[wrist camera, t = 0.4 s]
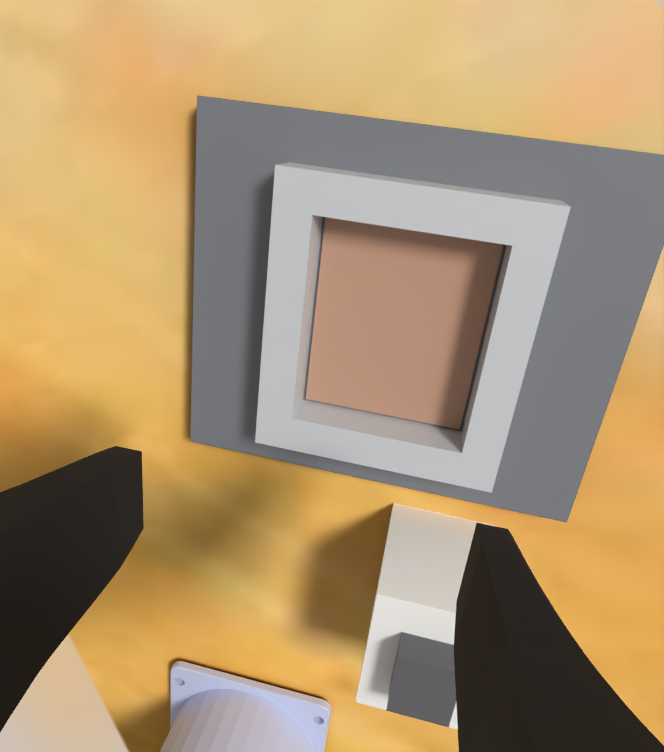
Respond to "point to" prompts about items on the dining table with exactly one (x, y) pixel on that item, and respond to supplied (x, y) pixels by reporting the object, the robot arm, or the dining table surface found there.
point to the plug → (416, 616)
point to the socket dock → (415, 298)
